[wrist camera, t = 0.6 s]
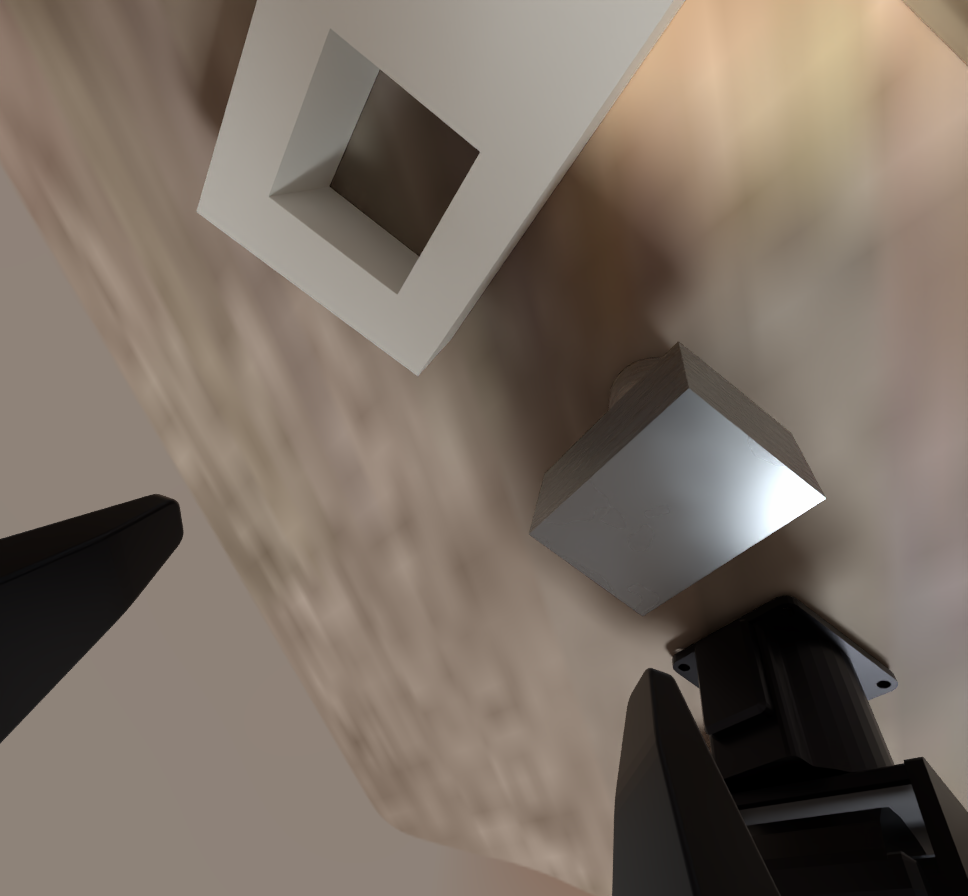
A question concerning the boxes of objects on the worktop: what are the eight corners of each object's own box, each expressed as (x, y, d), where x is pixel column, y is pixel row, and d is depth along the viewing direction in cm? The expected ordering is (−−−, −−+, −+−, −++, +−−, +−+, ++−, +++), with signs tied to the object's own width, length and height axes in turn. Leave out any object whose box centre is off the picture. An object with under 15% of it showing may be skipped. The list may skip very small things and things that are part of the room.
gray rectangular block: (760, 375, 17) (825, 498, 11) (639, 478, 20) (642, 616, 14) (669, 300, 17) (688, 388, 11) (559, 416, 20) (528, 534, 14)
